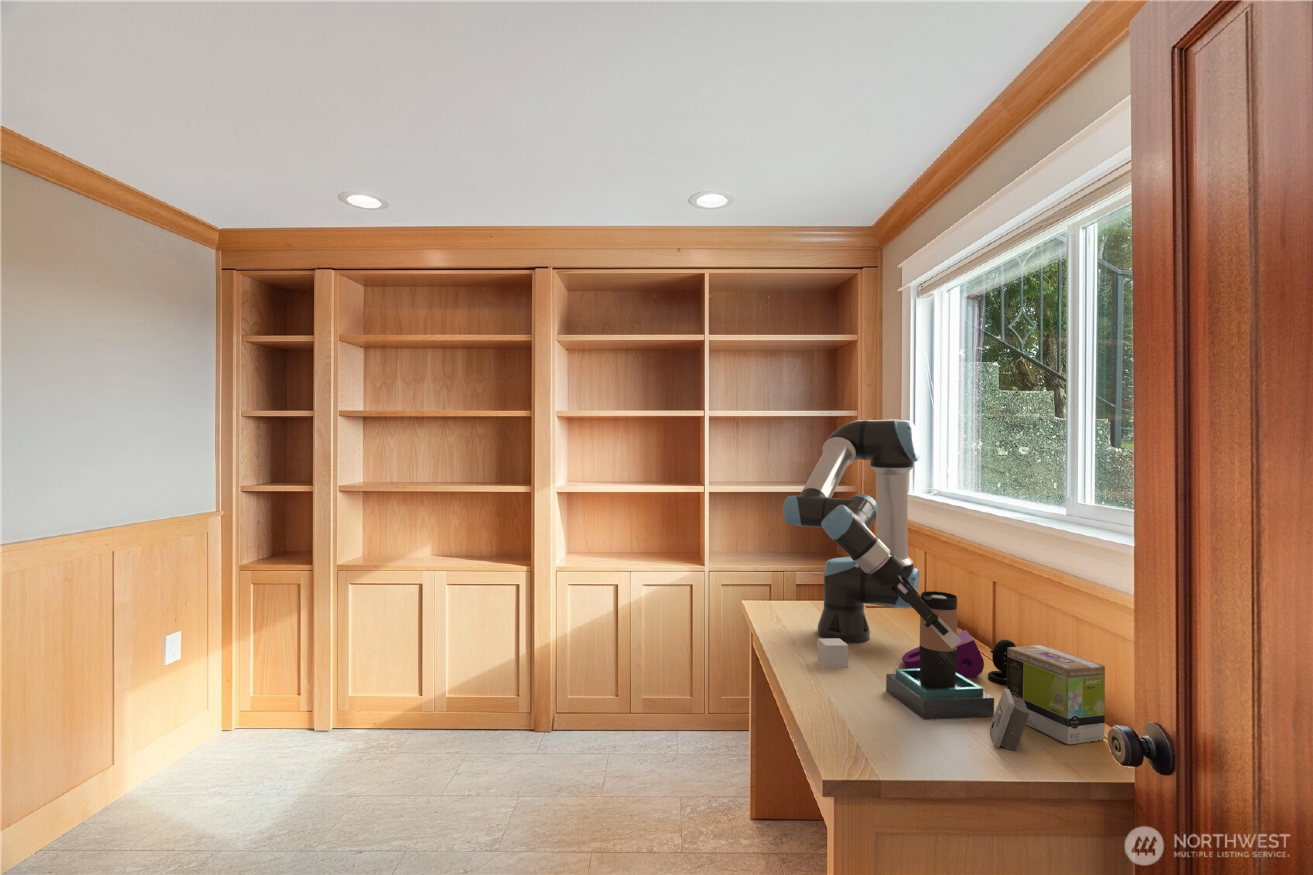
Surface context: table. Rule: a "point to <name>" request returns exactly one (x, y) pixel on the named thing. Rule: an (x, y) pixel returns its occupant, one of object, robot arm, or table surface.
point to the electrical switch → (1008, 721)
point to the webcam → (1000, 661)
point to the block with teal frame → (939, 697)
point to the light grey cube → (832, 653)
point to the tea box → (1059, 692)
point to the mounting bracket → (966, 661)
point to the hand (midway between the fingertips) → (949, 635)
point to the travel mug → (938, 642)
